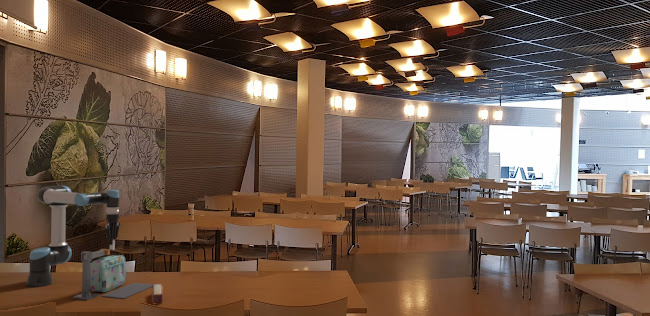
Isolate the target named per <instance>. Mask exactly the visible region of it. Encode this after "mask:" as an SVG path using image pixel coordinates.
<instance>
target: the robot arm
mask: <svg viewBox="0 0 650 316" xmlns="http://www.w3.org/2000/svg"><path fill="white" fill-rule="evenodd" d="M36 198H37V200H38V202H40V203H42V204H45V205H46V204H48V206H49V207H50V208H51V228H50V229H51V231H50V232H51V233H50V235H51V236H50V237H51V240H50V243H49V244H48V247H47V246H44V247H43V246H42V247H37V248H34V249H32V250H31V251H30V253H29V274H28V275H27V279H26V281H25V282H26V283H25V286H26V285H27V287H29V286H30V287H31V288H34V287H35V288H36V287H44V286H45V287H46V286H49V285H52V284H53V277H52V274H51V270H50V268H51V267H52V266H56V265H61V264H64V263H67V262H68V261H69V260H70V259H71V257H72V249H71V247H70V246H69V244H68V242H66V226H67V225H66V221H67V219H66V214H67V212H66V208H67V207H68V206H69V204H70V205H76V206H79V207H81V206H82V207H84V206H91V205H106V217H105V218H106V220H107V222H106V223H107V224H105V225H104V229H105V235H106V239H107V240H108V242H109V243H108V244H109V249H110V251H114V250H115V249H116V248H115V247H116V246H115V244H116V240H117V238H118V237H119V232H120V226H121V222H119V219H120V214H119V213H120V191H119V190H118V189H107V190H106V192H102V191H101V192H100V191H96V192H88V193H83V192H73V191H72V190H71V189H70V187H69V186H66V185H50V186H43V187H41V188H39V189H38V190H37V192H36Z"/></svg>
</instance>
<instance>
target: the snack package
mask: <svg viewBox="0 0 650 316" xmlns="http://www.w3.org/2000/svg"><path fill="white" fill-rule="evenodd" d="M163 301H164V287H163V285H162V284H161V283H160V284H159V283H156V284H155V285H153V287H151V303H152V304H153V303H161V304H162V303H163Z"/></svg>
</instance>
